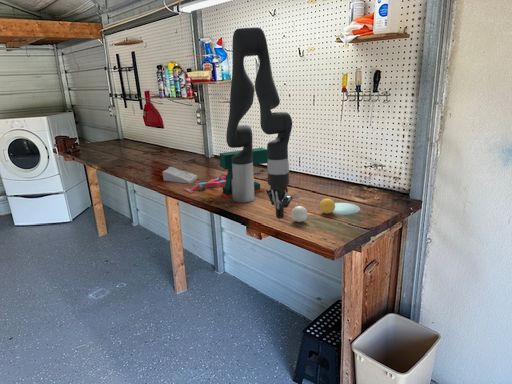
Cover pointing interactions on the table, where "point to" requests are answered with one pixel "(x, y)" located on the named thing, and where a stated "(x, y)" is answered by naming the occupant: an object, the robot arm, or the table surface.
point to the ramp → (178, 176)
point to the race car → (209, 183)
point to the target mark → (345, 209)
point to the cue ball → (299, 213)
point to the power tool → (226, 163)
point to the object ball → (327, 205)
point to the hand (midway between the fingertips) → (279, 217)
